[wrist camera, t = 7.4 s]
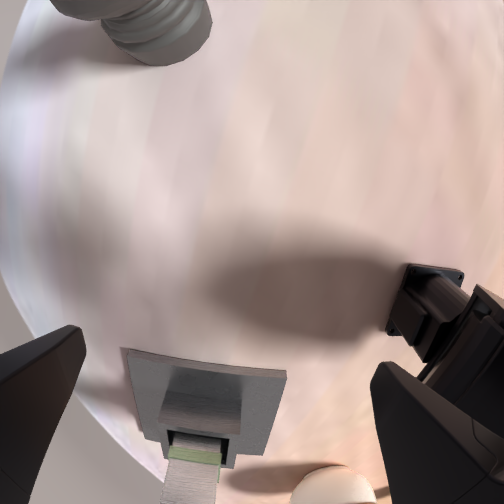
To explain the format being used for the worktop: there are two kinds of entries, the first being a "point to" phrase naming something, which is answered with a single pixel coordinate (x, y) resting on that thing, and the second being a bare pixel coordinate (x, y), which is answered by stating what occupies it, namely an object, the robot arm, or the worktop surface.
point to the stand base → (205, 402)
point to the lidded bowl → (333, 487)
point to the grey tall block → (192, 470)
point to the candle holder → (147, 26)
